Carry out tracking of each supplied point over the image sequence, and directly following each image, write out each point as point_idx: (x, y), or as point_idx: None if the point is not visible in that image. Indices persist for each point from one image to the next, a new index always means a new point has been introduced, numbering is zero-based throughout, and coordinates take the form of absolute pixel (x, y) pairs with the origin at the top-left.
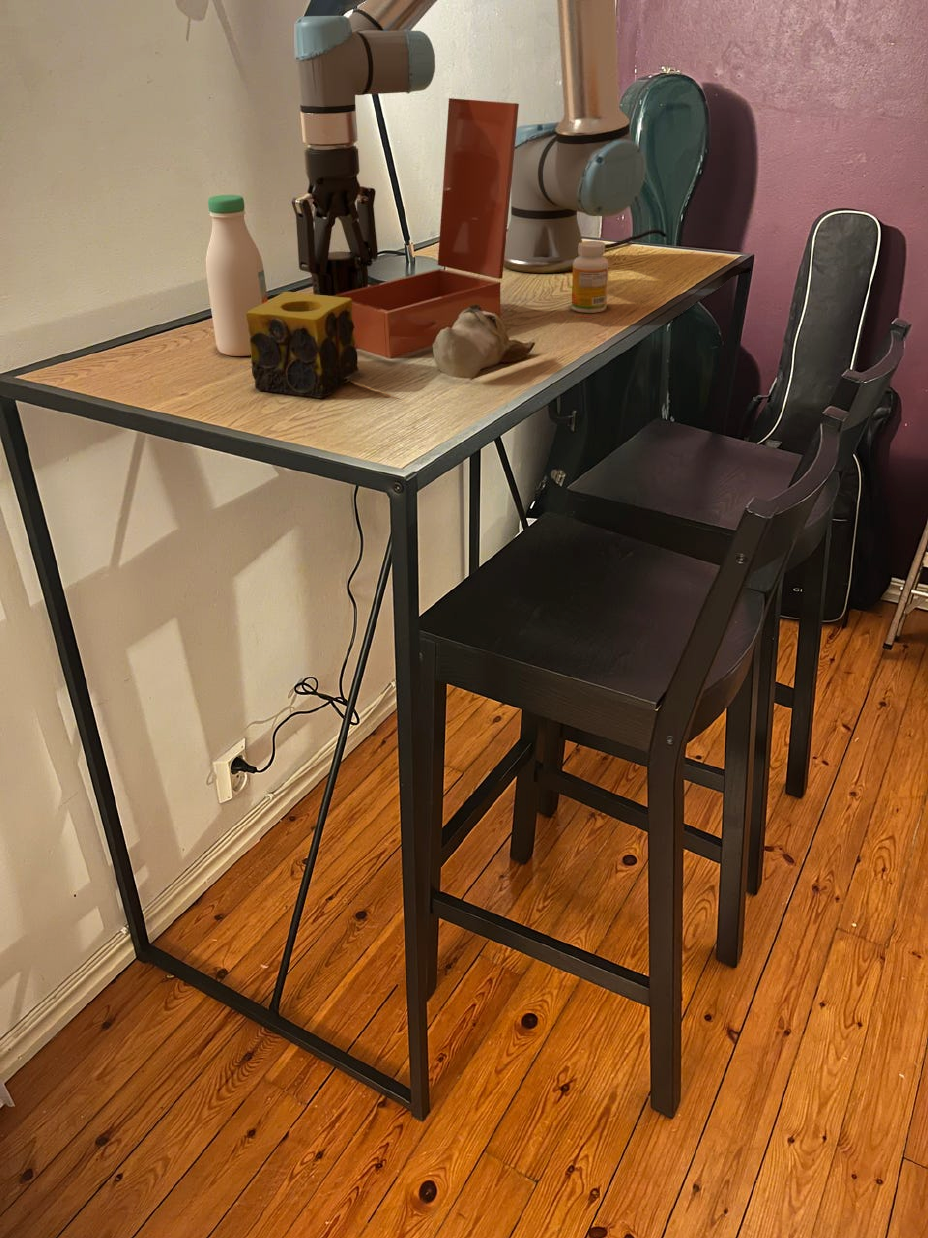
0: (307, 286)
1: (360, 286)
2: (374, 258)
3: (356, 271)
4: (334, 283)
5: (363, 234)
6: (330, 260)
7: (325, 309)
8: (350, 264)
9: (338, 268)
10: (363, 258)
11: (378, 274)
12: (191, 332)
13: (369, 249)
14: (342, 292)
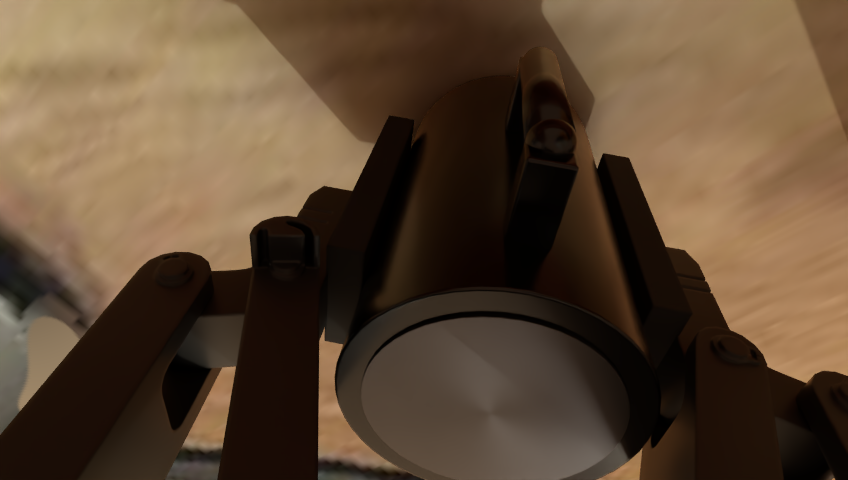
0: None
1: (557, 83)
2: (196, 255)
3: (575, 158)
4: (621, 254)
5: (140, 475)
6: (658, 390)
7: None
8: (540, 260)
9: (628, 297)
10: (305, 288)
11: (10, 384)
12: None
13: (190, 329)
14: (592, 184)
